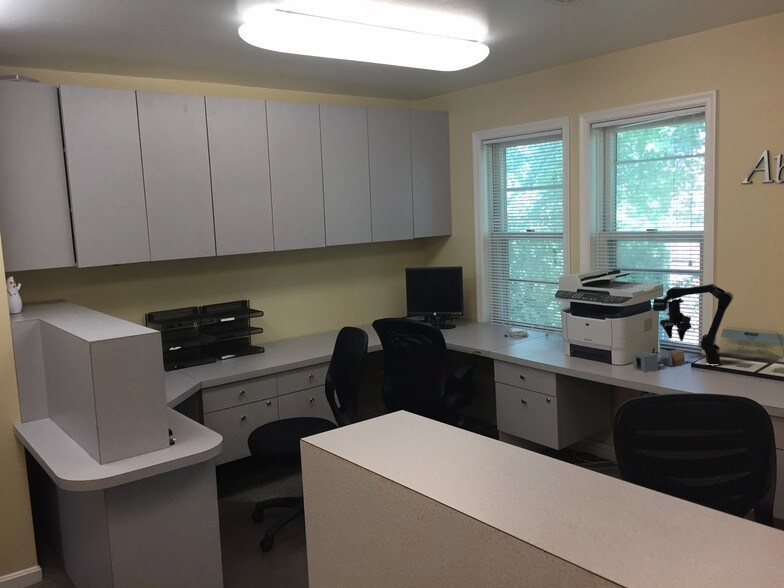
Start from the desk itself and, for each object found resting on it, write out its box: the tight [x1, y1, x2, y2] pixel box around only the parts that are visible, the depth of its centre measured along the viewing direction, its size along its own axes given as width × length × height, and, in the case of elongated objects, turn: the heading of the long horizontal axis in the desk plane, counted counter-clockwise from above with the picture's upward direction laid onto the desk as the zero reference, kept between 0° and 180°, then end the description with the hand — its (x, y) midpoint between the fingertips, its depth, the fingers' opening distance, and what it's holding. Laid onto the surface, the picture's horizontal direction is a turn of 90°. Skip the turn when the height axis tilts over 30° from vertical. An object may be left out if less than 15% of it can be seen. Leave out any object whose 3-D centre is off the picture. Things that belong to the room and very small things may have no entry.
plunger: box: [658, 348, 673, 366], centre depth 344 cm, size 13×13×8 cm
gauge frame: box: [632, 351, 663, 373], centre depth 343 cm, size 14×18×8 cm
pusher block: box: [670, 349, 686, 367], centre depth 345 cm, size 5×6×7 cm
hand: (676, 339), depth 344 cm, fingers open, 9 cm apart
